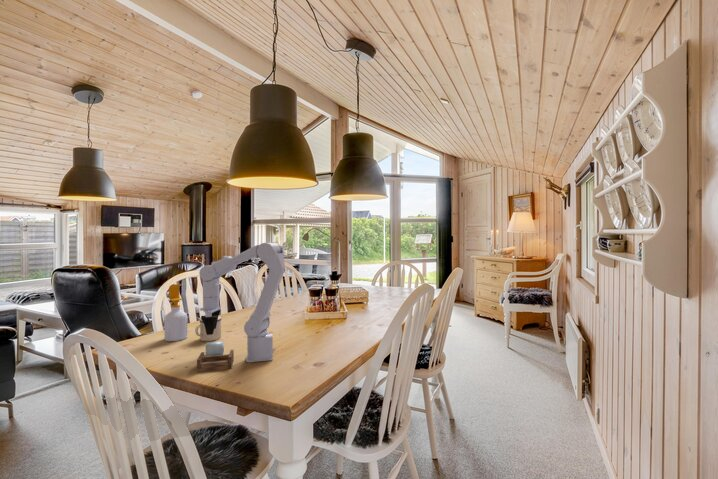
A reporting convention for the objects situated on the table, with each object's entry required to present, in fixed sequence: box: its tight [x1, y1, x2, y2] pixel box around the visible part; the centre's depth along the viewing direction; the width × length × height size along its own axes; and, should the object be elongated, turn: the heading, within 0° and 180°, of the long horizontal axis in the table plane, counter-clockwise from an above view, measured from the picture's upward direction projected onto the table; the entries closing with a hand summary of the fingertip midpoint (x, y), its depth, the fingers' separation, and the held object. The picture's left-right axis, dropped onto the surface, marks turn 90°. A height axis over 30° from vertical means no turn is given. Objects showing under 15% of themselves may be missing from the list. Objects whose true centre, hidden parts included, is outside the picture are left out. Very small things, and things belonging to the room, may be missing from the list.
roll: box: [205, 340, 225, 356], centre depth 133 cm, size 6×5×5 cm
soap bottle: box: [163, 283, 188, 342], centre depth 154 cm, size 9×9×25 cm
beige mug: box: [194, 315, 222, 342], centre depth 153 cm, size 12×9×12 cm
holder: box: [196, 349, 235, 373], centre depth 122 cm, size 11×8×4 cm
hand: (211, 331), depth 132 cm, fingers open, 7 cm apart
